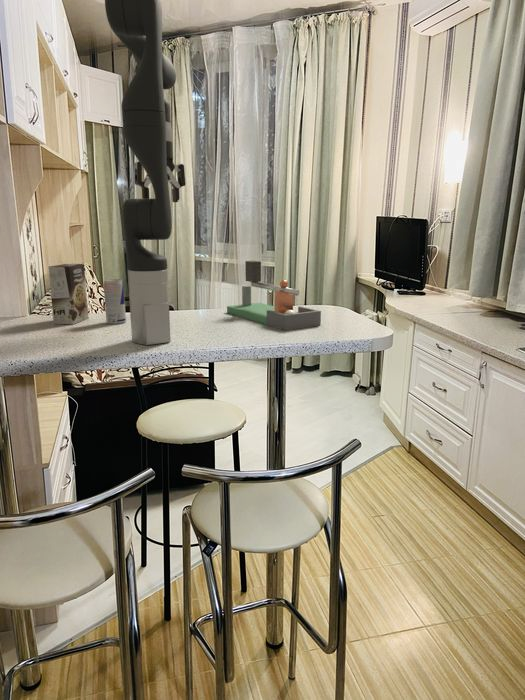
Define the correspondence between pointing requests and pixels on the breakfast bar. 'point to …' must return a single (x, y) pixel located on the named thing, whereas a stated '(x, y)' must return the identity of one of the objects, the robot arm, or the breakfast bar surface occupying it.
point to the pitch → (274, 314)
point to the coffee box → (68, 293)
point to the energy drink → (114, 301)
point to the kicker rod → (271, 287)
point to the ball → (289, 312)
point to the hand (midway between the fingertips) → (161, 202)
